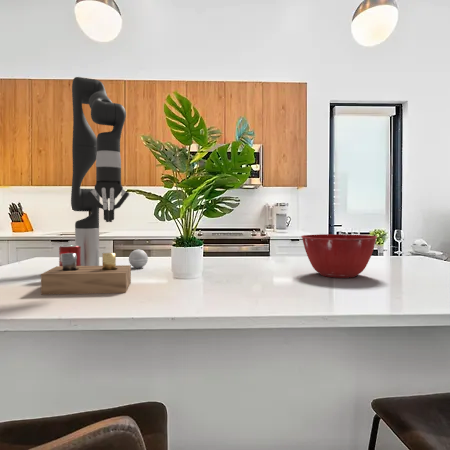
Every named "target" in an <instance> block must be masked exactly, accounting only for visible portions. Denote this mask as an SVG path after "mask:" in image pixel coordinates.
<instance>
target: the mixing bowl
mask: <svg viewBox="0 0 450 450" xmlns="http://www.w3.org/2000/svg"><path fill="white" fill-rule="evenodd" d="M300 237H301V239H302V243H303V246H304V250H305V253H306V256H307V258H308V260H309V261H308V262H310V265H311V266H312V268H313V269H314V270H315V271H316V273H319V274H320V276H322V277H327V278H335V279H337V278H338V279H339V278H340V279H345V278H346V279H348V278H349V277H350V278H356V277H357V275H360V274H361V273H362V272H363V271H365V270H366V267H367V265H368V264H369V262H370V259H371V257H372V255H373V252H374V249H375V245H376V241H377V238H378V236H376V235H371V234H370V235H367V234H342V233H340V234H339V233H338V234H336V233H335V234H334V233H332V234H328V233H327V234H323V233H322V234H321V233H319V234H304V235H301V236H300ZM350 278H349V279H350Z"/></svg>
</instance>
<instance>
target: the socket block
mask: <svg viewBox="0 0 450 450" xmlns="http://www.w3.org/2000/svg"><path fill="white" fill-rule="evenodd" d="M131 283H132V265H131V264H128V265H125V264H124V265H122V264H121V265H117V264H116V270H103V265H99V266H76V271H63V266H59V265H58V266H55V267H53V268H51V269H48V270H47V271H44V272H43V273H40V288H41V289H40V293H41V296H42V295H77V294H78V295H80V294H81V295H82V294H83V295H84V294H85V295H86V294H90V295H91V294H120V293H121V294H126V293H127V292H128V289H129V288H130V286H131Z"/></svg>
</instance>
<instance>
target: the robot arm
mask: <svg viewBox="0 0 450 450" xmlns="http://www.w3.org/2000/svg"><path fill="white" fill-rule="evenodd" d="M71 97H72V116H73V117H72V121H73V125H72V141H71V142H72V145H71V146H72V150H71V151H72V157H71V158H72V178H71V179H72V180H71V190H70V191H71V193H70V195H71V196H70V206H71V208H72V209H71V210H73V212H90V214H89V215H88V216H86V217H85V218H82V219H78V220H76V221H75V224H74V229H75V230H74V235H75V236H74V239H75V241H74V245H80V246H81V266H100V209H102V210H103V220H104V221H105V223H112V222H113V221H114V219H115V211H116V210H117V209H119V208H121V206H122V205H123V204H124V203H125V202H126V199H127V198H128V197H130V193H129V192H128V191H126V190H125V189H124V187H123V184H122V158H121V137H122V132H123V129H124V125H125V122H126V118H127V112H126V108H125V107H124V106H123V104H120V103H116V102H113V101H112V100H111V98H109V96H108V94H107V90H106V88H105V85H104V84H103V82H102V81H100V80H99V79H95V78H87V77H81V76H75V77H74V78H73V80H72V85H71ZM83 104H84V105H88V106H89V108H90V118H91V121H92V122H93V123H95V124H96V125H101V126H110V127H112V130H110V131H103V132H100V133H98V134H97V135H96V134H95V132H94V130H93V128H92V127H91V126H90V124H89V122H88V121H87V120H88V119H87V117H86V116H85V113H84V109H83ZM94 164H95V167H96V168H95V172H96V173H95V175H96V176H95V181H96V182H95V185H94V188H81V185H82V183H83V180H84V178H85V177H86V175H87V173H88V172H89V171H90V169H91V168H92V167H93V166H94ZM118 196H121V197H120V198H119V200H118V202H117V203H116V199H117V198H118ZM101 200H102V201H101ZM101 202H102V203H101Z"/></svg>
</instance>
